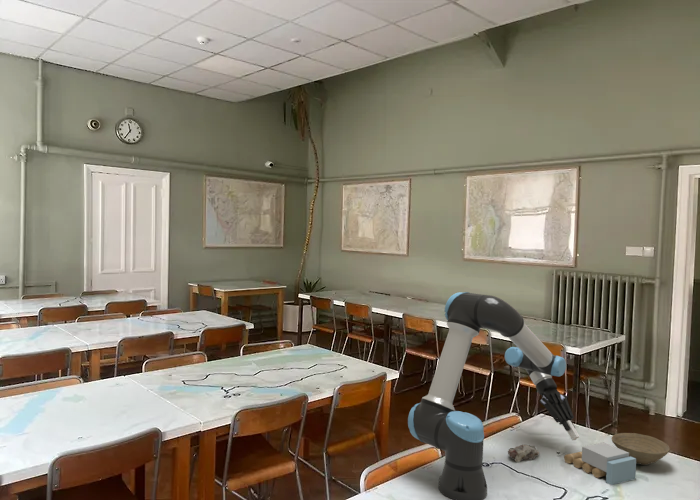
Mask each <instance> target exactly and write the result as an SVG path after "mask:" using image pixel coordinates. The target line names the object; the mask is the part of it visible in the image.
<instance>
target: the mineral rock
mask: <svg viewBox="0 0 700 500" xmlns="http://www.w3.org/2000/svg"><path fill="white" fill-rule="evenodd" d="M507 453H508V456H509V457H510V458H511V459H513V460H514V461H515V463H520V462H521V461H526V460H527V461H528V460H531V461H532V460H535V459H536V457H537V456H539V455H540V452H539V451H538V449H537V448H536V446H535V445H530V444H529V445H528V444H520V445H518V446H515V447H514V448H512V447H511V448H509V449H508V451H507Z"/></svg>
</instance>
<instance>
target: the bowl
mask: <svg viewBox="0 0 700 500" xmlns="http://www.w3.org/2000/svg"><path fill="white" fill-rule="evenodd" d="M611 441H612V443H613V445H614V447H616V448H619V449H621V450H624V451H626V452H628V453H629V457H630V456H631V457H633V458H636V465H642V466H643V465H651V464H655V463H656V462H657V461H660V460H661V459H663V458H664V457H665V456H666V455H667V454H669V452H670V450H671V449H670V446H669V445H668V443H666V442H665V441H663V440H660V439H658V438H656V437H654V436H650V435H648V434H647V435H645V434H642V433H635V432H633V433H632V432H620V433H616V434H614V435H612V436H611Z"/></svg>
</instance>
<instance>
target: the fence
mask: <svg viewBox="0 0 700 500" xmlns="http://www.w3.org/2000/svg"><path fill="white" fill-rule="evenodd" d="M636 469H637V463H636V458H633V457H631V456H630V457H626V458H621V459H617V460H613V461H608V462H607V471H606V476H605V483H606V484H608V485H610V486H613V485H617V484H621V483H625V482H629V481H633V480H636V476H637V475H636V471H637V470H636Z"/></svg>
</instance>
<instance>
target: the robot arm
mask: <svg viewBox="0 0 700 500" xmlns="http://www.w3.org/2000/svg"><path fill="white" fill-rule="evenodd" d="M444 316H445V319H446V320H447V321H446V325H447V327H448V333H447V334H446V335H447V336H446V338H445V341H444V345H443V347H442V351H441V354H440V357H439V360H438V363H437V367H436V369H435V372H434V376H433V378H432V381H431V384H430V387H429V391H428V394H426V395H425V396H422V398H421V400H420V402H419V403H416V404H414V405H413V406H412V407H411V409H410V411H409V413H408V417H407V426H408V429H409V433H410V434H411V436H412V437H414V439H416V440H419V441H420V442H421V443H424V444H426V445H430V446H431V447H434V448H437V449H439V450H442V451H444V453H445V454H444V465H443V467H442V470H441V474H440V476H439V477H438V490H439V492H440V493H441V494H442V495H444V496H445V497H447V498H449V499H452V500H484V499H485V498H487V496H488V484H487V480H486V477H485V474H484V473H485V472H484V469H483V463H484V462H483V459H484V439H485V433H484V431H485V430H484V424H483V422H482V420H481V419H480V418H479V417H478V416H476V415H474V414H472V413H469V412H466V411H465V412H463V411H459V410H456V409H455V407H454V405H453V403H454V399H455V397H456V393H457V389H458V386H459V383H460V379H461V377H462V373H463V370H464V368H465V364H466V361H467V358H468V354H469V351H470V349H471V345H472V341H473V338H475V337H477V336H479V335H480V331H481V329H486V330H491V331H493V332H498V333H499V334H500V335H501V336H502V337H504V338H508V339H509V340H510V341H511V342H512V343H513V344H514V345H515V346H511V347H509V348H507V349H506V350H505V353H504V361H505V363H506V364H508V365H509V366H511V367H515V368H518V369H523V370H525V371H526V373H527V375H528V376H529V378H530V379H531V381H532V384H534V386H535V389H536V391H537V392H538V394H539V395H540V396H541V399H540V400H539V403H540V404H541V405H542V406H543V407H544V408H545V409H546V410H547V412H548V413H549V414H550V416H551V417H552V419H553V420H554V421H555V422H556V423H557V424H559V425H560V426H563V428H564V430H565V431H566V432H567V434H568V436H569V437H570V439H571V441H576V440H577V439H579V438H580V437H581V436H580V435H579V433H578V431H577V429H576V425H574V423H573V422H572V420H573V419H574V414H573V412H572V409H571V406H570V404H569V401H568V396H567V395H566V394H564V395H563V394H561V392H560V391H559V390H558V385H557V384H556V382H555V380H554V378H553V376H554V377H558V378H559V377H561V376H563V375H564V374H565V372H566V369H567V362H566V359H565V358H564V357H562V356H559V355H554V354H553V352H551V351H550V349H548V347H547V346H546V345H545V344H544V343H543V342H542V341H541V340H540V338H539V337H538V336H537V335H536V334H535V333H534V332H533V331H532V330H531V329H530V328H529V327H528V326H527V324H526V323H525V318H524V316H522V315H521V314H520V312H519V311H517V310H516V308H514V307H513V306H512V305H511V304H509V303H508V302H507V301H505V300H504V299H501V298H500V297H497V296H496V295H495V296H494V295H489V294H481V293H474V292H468V291H465V292H461V291H460V292H459V291H458V292H456V293H454V294H452V295H451V296H450V297H449V298H448V299H447V301H446V303H445V306H444Z"/></svg>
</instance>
